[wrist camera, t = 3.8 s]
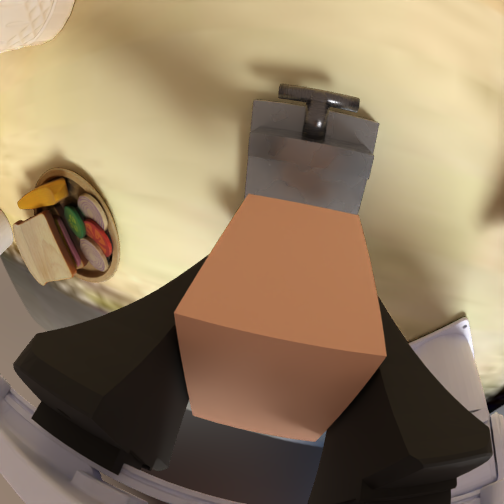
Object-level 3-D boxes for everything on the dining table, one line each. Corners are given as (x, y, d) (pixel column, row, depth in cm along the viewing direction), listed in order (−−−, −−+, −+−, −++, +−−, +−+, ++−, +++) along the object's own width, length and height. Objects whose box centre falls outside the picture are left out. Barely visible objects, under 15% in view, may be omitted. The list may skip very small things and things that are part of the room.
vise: (259, 82, 14) (244, 79, 11) (378, 104, 13) (394, 107, 10) (242, 254, 21) (229, 284, 18) (336, 273, 20) (337, 306, 17)
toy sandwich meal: (143, 280, 25) (117, 313, 21) (61, 271, 29) (38, 295, 25) (103, 151, 19) (61, 171, 15) (25, 177, 22) (-6, 195, 18)
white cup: (67, 47, 14) (-36, 63, 6) (22, 52, 14) (-60, 72, 6) (93, -33, 9) (-3, -46, 1) (42, -17, 9) (-39, -13, 1)
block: (248, 193, 10) (173, 312, 5) (358, 215, 9) (386, 356, 4) (239, 297, 13) (193, 415, 8) (325, 315, 12) (315, 441, 7)
